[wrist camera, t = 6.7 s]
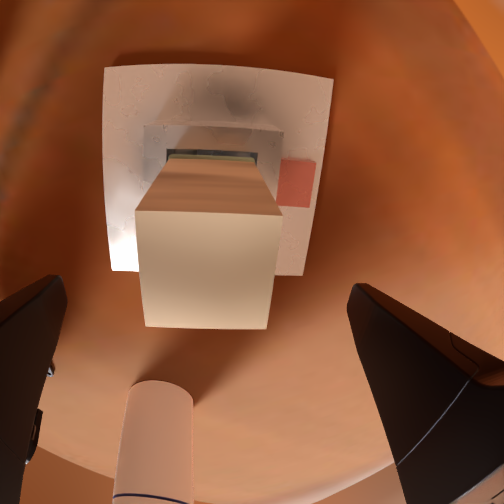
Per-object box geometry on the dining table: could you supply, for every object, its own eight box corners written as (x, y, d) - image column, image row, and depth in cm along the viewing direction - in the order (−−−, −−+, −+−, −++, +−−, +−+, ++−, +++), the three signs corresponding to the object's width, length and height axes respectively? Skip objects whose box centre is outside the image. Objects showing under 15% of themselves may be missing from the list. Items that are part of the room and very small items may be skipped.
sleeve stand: (299, 268, 24) (315, 303, 20) (115, 263, 23) (98, 298, 19) (328, 79, 18) (356, 77, 14) (109, 68, 16) (82, 63, 12)
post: (245, 231, 18) (267, 330, 10) (170, 228, 17) (144, 327, 10) (252, 157, 16) (285, 214, 9) (171, 153, 15) (132, 209, 8)
